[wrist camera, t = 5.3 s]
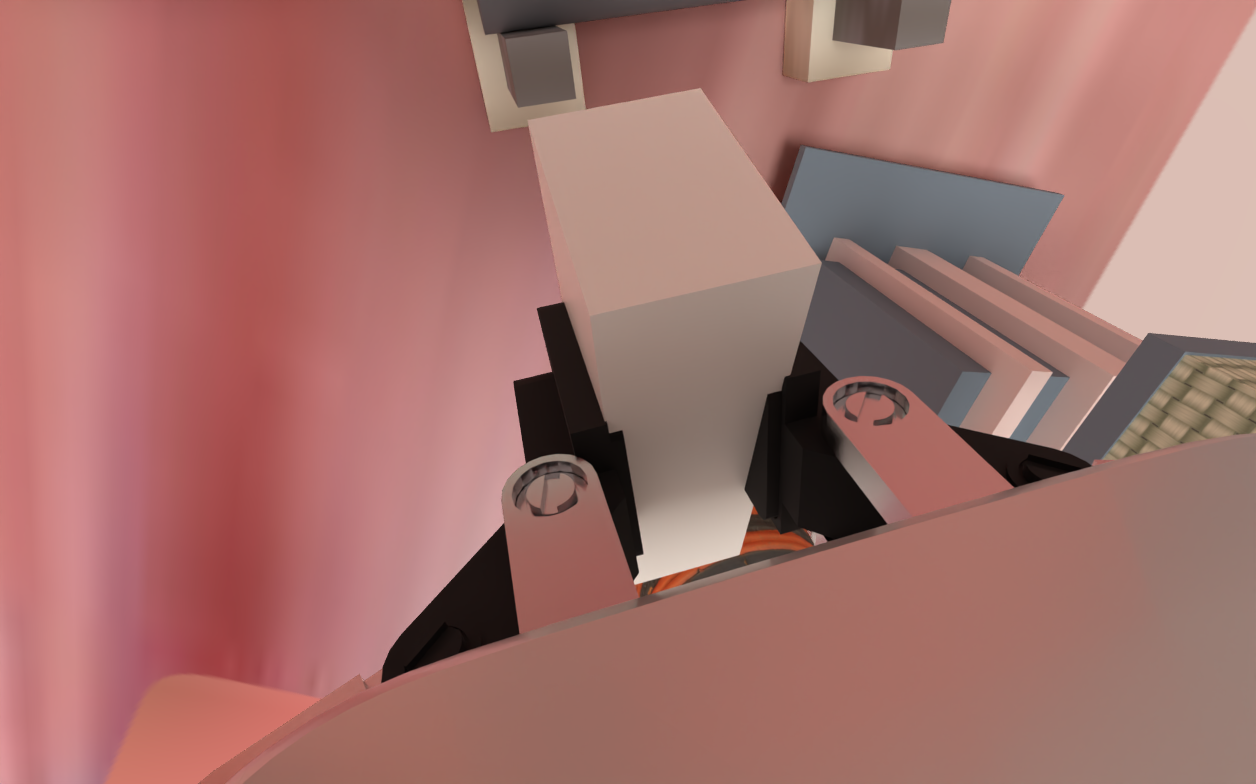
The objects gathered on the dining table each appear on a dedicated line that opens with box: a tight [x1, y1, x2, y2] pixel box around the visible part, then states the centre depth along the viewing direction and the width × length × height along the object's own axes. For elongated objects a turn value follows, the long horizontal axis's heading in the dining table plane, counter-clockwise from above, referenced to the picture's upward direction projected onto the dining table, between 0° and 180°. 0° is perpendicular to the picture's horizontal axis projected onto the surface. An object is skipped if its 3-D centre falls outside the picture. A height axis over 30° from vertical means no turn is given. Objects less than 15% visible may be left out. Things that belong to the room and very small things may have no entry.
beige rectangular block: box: [527, 88, 822, 585], centre depth 11 cm, size 9×3×4 cm, turn 7°
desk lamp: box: [781, 145, 1256, 465], centre depth 23 cm, size 18×14×33 cm
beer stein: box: [635, 506, 815, 598], centre depth 41 cm, size 19×15×20 cm
